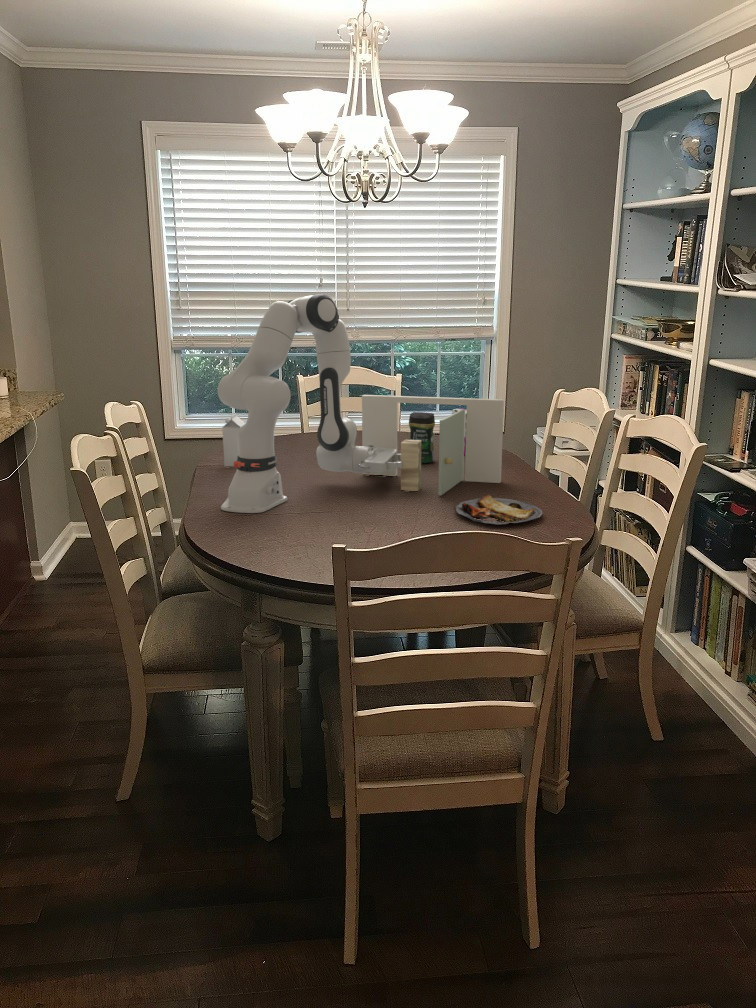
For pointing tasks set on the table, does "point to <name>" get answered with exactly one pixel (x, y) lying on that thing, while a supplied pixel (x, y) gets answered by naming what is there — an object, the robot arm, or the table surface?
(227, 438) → the milk carton
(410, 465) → the doorstop block
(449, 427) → the door
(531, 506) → the food plate
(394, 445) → the door frame
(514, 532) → the table surface
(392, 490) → the table surface
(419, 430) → the coffee jar
